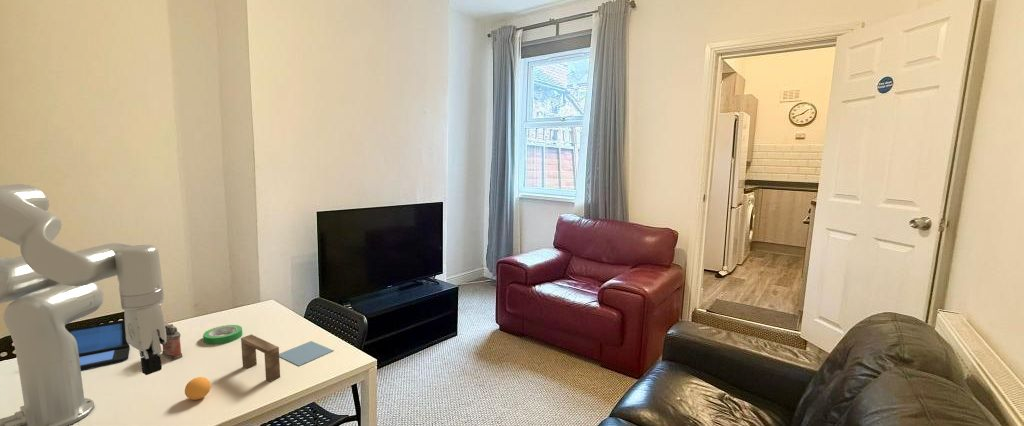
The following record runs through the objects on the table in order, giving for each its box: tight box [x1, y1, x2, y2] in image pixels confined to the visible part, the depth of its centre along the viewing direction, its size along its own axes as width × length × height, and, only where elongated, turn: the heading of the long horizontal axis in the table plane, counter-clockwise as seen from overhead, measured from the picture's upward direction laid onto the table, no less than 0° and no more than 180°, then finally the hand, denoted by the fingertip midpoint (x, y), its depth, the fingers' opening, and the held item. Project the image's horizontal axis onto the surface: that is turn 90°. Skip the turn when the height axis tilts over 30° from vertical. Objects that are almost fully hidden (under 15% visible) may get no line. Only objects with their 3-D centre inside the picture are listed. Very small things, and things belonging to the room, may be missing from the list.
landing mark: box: [279, 340, 335, 367], centre depth 135 cm, size 12×12×1 cm
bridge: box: [240, 334, 281, 382], centre depth 123 cm, size 3×14×9 cm, turn 59°
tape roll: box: [202, 324, 243, 346], centre depth 144 cm, size 11×11×3 cm
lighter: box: [161, 323, 183, 361], centre depth 130 cm, size 8×3×10 cm, turn 62°
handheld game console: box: [66, 319, 131, 371], centre depth 127 cm, size 16×13×9 cm
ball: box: [184, 376, 212, 401], centre depth 109 cm, size 6×6×6 cm
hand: (152, 371), depth 100 cm, fingers closed
